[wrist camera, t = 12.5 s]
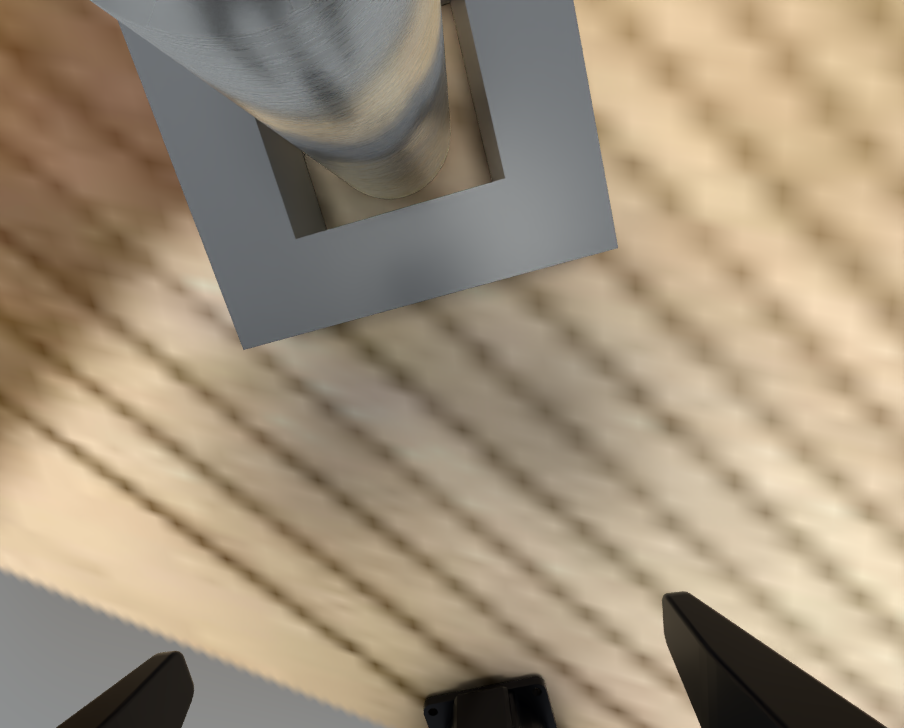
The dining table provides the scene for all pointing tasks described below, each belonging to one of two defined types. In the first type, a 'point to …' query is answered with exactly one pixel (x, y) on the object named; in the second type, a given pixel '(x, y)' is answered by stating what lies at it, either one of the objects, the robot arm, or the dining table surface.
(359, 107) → the steel pin
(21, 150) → the dining table surface
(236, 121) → the socket block
